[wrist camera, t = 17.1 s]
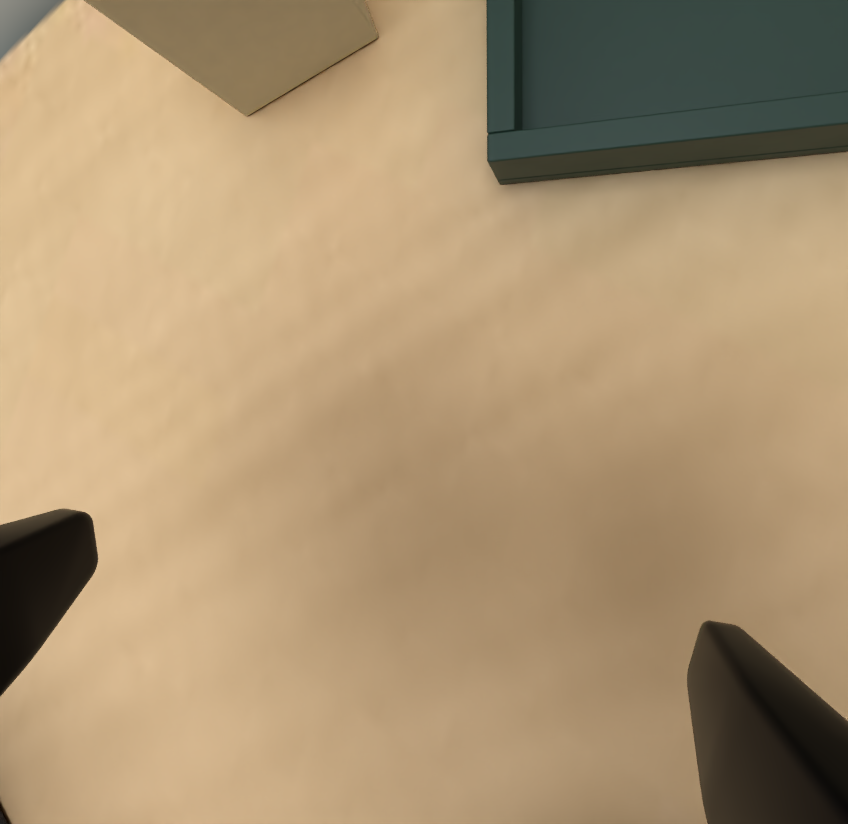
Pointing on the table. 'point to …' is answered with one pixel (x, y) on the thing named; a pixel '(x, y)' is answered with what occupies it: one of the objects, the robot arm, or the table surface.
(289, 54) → the carton
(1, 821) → the small box
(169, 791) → the table surface
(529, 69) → the tray
